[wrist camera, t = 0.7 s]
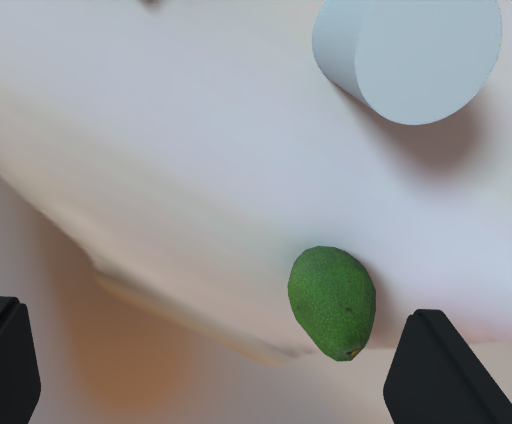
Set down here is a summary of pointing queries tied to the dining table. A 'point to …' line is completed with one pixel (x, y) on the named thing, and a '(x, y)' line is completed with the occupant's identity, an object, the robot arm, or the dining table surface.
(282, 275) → the dining table surface
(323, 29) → the light blue cylinder
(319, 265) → the avocado
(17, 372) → the robot arm
